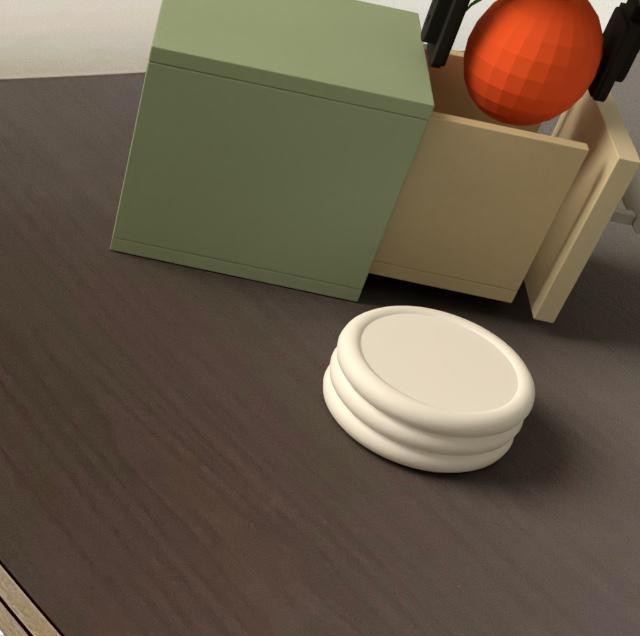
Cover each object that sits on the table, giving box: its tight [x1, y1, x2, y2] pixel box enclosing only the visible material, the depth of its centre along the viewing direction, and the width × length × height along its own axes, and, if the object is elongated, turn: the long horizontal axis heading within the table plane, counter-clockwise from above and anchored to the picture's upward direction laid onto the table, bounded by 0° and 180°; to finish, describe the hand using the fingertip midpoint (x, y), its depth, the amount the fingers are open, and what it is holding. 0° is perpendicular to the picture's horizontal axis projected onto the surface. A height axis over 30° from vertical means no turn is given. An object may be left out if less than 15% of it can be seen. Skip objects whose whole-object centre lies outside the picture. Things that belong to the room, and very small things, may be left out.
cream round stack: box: [322, 305, 536, 474], centre depth 59 cm, size 10×10×4 cm
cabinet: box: [109, 0, 434, 303], centre depth 67 cm, size 15×13×12 cm
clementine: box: [463, 0, 604, 126], centre depth 62 cm, size 8×7×7 cm
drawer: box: [368, 43, 640, 324], centre depth 67 cm, size 17×11×10 cm, turn 81°
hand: (513, 73), depth 63 cm, fingers closed on clementine, 8 cm apart
